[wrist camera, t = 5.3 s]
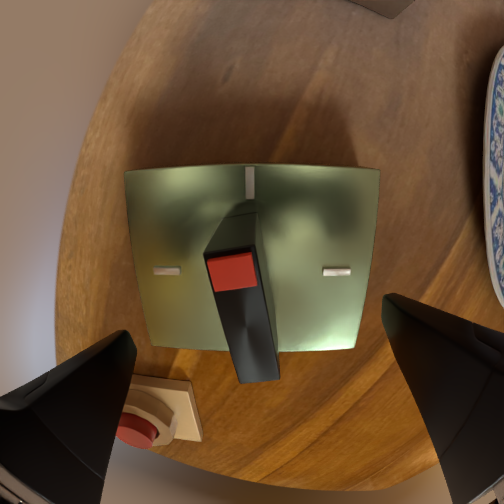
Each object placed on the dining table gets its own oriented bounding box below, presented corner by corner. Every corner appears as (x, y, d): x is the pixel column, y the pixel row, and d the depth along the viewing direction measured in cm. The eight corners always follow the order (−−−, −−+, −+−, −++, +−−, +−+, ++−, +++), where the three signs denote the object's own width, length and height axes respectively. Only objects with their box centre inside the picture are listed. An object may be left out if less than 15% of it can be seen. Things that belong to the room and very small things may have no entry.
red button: (126, 430, 20) (120, 443, 18) (113, 407, 18) (106, 422, 17) (161, 437, 20) (157, 452, 18) (151, 415, 18) (145, 431, 17)
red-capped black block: (276, 317, 14) (280, 384, 10) (245, 321, 14) (239, 388, 10) (257, 212, 12) (255, 246, 8) (222, 218, 12) (199, 256, 8)
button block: (114, 416, 23) (105, 436, 20) (88, 364, 20) (73, 385, 17) (203, 432, 23) (198, 456, 20) (190, 381, 20) (183, 408, 17)
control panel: (165, 319, 18) (150, 347, 15) (147, 167, 15) (121, 172, 12) (342, 320, 18) (355, 350, 15) (359, 166, 14) (382, 169, 11)
